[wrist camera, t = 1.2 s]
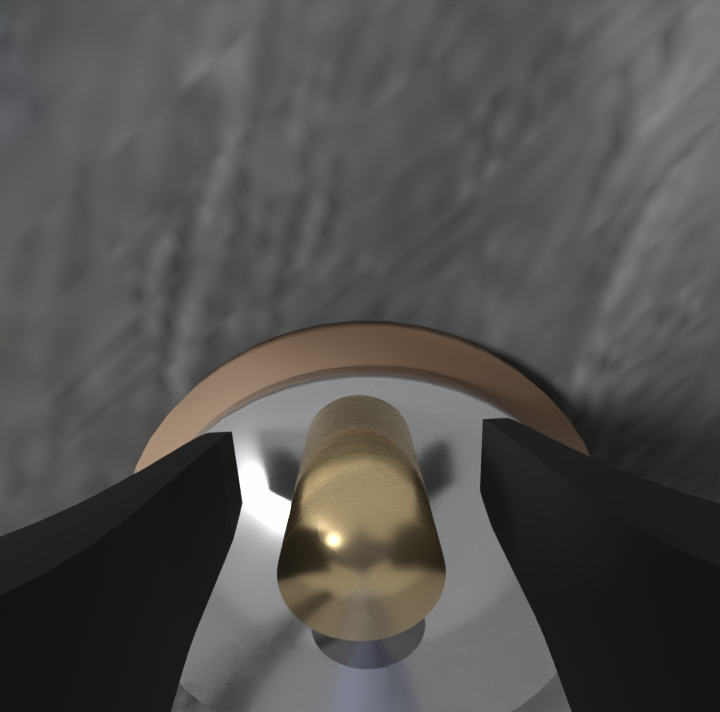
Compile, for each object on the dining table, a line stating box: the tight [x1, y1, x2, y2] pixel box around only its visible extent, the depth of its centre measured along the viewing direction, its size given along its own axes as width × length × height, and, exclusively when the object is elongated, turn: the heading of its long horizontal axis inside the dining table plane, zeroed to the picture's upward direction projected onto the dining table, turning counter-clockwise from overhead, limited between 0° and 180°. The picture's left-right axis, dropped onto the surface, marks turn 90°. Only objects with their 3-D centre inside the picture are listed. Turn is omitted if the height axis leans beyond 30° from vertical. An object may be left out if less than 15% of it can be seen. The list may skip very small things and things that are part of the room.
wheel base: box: [134, 321, 590, 474], centre depth 13 cm, size 16×18×4 cm
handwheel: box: [179, 366, 557, 712], centre depth 11 cm, size 14×14×6 cm
